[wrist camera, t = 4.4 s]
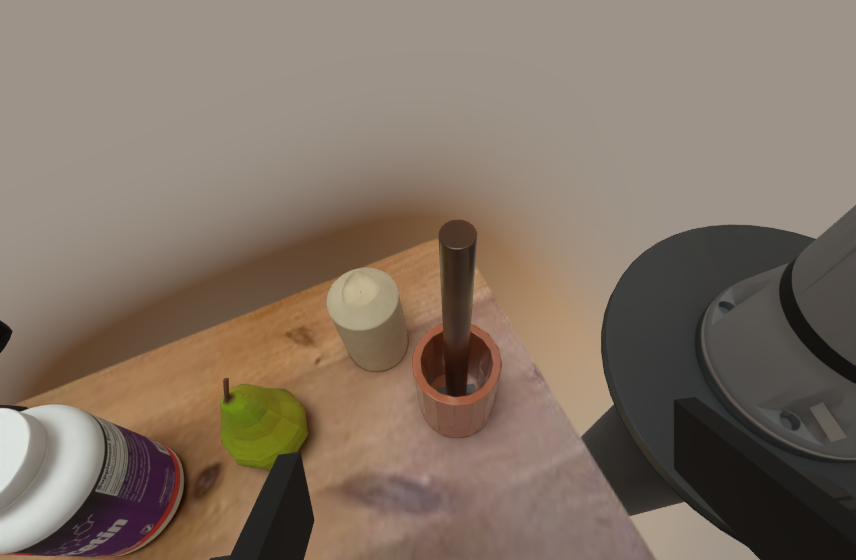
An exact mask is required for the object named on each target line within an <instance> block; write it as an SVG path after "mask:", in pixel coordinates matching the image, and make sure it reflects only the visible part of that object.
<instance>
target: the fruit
mask: <svg viewBox="0 0 856 560" xmlns="http://www.w3.org/2000/svg"><path fill="white" fill-rule="evenodd" d="M223 383H224V396H223V398H222V399H221V411H222V416H221V442H222V443H223V445H224V446H225V447H226V449H227V450H228V451H229V453H230V454H231V455H232V457H233V458H234V459H235V461H236V462H237V463H238V464H239V465H242V466H245V467H253V468H261V469H272V466H273V464H274V462H275V460H276V458H277V456H278V455H280V454H287V453H294V452H298V450H299V449H300V447H301V445H302V444H303V442H304V440H305V439H306V437H307V436H308V431H307V422H306V412H305V408H304V407H303V406H302V405H301V404H300V403H299V401H298V400H297V399H296V398H295V397H294V396H293V395H292V394H291V393H290V392H289V391H287V390H285V389H273V388H263V387H260V386H254V385H248V384H241V385H238V386H236V387H234V388H232V389H230V390H229V379H228V378H225V379H224V380H223Z"/></svg>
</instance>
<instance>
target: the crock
mask: <svg viewBox="0 0 856 560" xmlns="http://www.w3.org/2000/svg"><path fill="white" fill-rule="evenodd" d="M412 366H413V375H414V380H415V384H416V389H417V394H418V398H419V403H420V407H421V411H422V413H423V416H424V418H425V420H426V422H427V423H428V424H429V426H430V427H431V428H432V429H433V430H435V431H436V432H438V433H439V434H441V435H443V436H446V437H450V438H463V437H467V436H470V435H472V434H474V433H476V432H477V431H479V430H480V429H481V428H482V427H483V426H484V425H485V423H486V422H487V420H488V418H489V416H490V413H491V409H492V405H493V401H494V397H495V393H496V389H497V385H498V381H499V376H500V371H501V366H502V362H501V358H500V353H499V349H498V347H497V345H496V344H495V342H494V341H493V340H492V338H491V337H490V335H489V334H488V333H486V332H485V331H483V330H482V329H480V328H478V327H477V326H475V325H472V324H471V330H470V345H469V359H468V373H467V384H474V387H475V392H474V393H472V394H470V395H467V396H459V397H453V396H449V395H445V394H441V393H439V392H438V391H437V388H442V387H446V379H445V358H444V337H443V323H442V324H440V325H438V326H436V327H434V328H432V329H431V330H429V331H428V332H426V333H425V335H424V336H423V337H422V338H421V339H420V340H419V342H418V343H417V345H416V348H415V351H414V354H413V357H412Z"/></svg>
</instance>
